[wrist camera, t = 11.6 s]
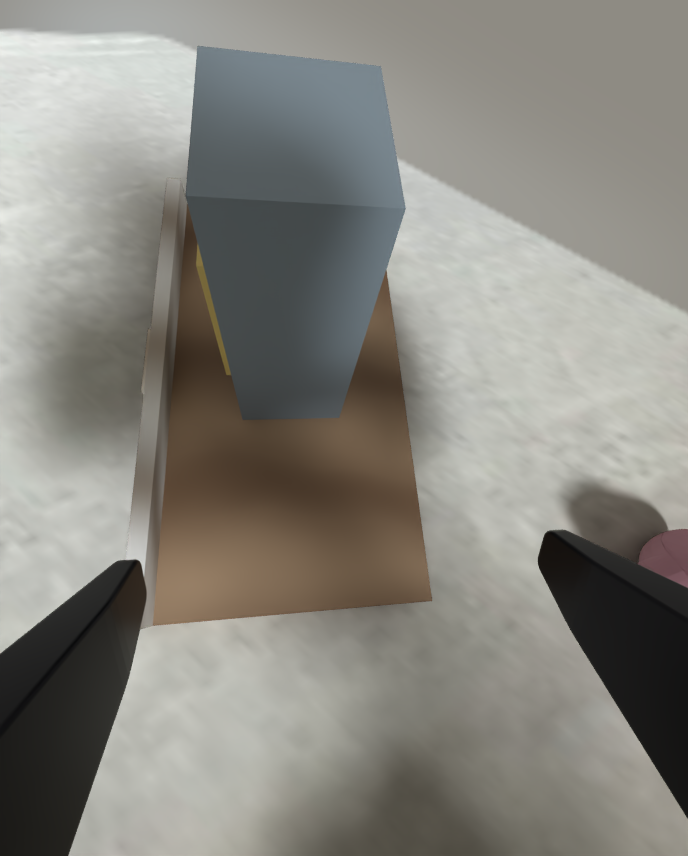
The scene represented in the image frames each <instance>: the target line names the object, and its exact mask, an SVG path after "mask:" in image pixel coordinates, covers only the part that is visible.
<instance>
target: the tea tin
mask: <svg viewBox="0 0 688 856" xmlns="http://www.w3.org/2000/svg"><path fill="white" fill-rule="evenodd" d="M186 199H187V203H188V207H189V211H190V215H191V219H192V223H193V227H194V231H195V235H196V239H197V243H198V244H197V260H196V267H197V270H198V274H199V277H200V281H201V285H202V288H203V292H204V296H205V299H206V303H207V306H208V310H209V314H210V317H211V321H212V324H213V328H214V332H215V335H216V339H217V343H218V346H219V350H220V353H221V357H222V361H223V364H224V368H225V372H226V375H231V376H232V380H233V384H234V388H235V392H236V396H237V400H238V404H239V408H240V412H241V416H242V420H263V419H311V418H339V417H340V413H341V410H342V407H343V404H344V401H345V398H346V395H347V391H348V388H349V385H350V382H351V379H352V376H353V373H354V369H355V366H356V363H357V360H358V357H359V354H360V351H361V347H362V344H363V341H364V338H365V335H366V332H367V328H368V325H369V322H370V319H371V316H372V313H373V310H374V306H375V303H376V300H377V297H378V294H379V291H380V288H381V284H382V281H383V278H384V275H385V272H386V269H387V266H388V262H389V259H390V256H391V253H392V250H393V247H394V244H395V240H396V237H397V234H398V231H399V228H400V225H401V222H402V218H403V215H404V212H405V209H406V208H405V202H404V197H403V191H402V185H401V179H400V174H399V168H398V162H397V156H396V151H395V145H394V139H393V133H392V128H391V122H390V117H389V111H388V105H387V99H386V94H385V88H384V82H383V76H382V71H381V66H374V65H365V64H356V63H348V62H338V61H329V60H321V59H311V58H303V57H294V56H285V55H276V54H267V53H258V52H248V51H240V50H231V49H222V48H212V47H203V46H198V47H197V59H196V72H195V84H194V97H193V110H192V122H191V135H190V147H189V160H188V172H187V185H186Z"/></svg>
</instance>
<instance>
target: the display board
mask: <svg viewBox="0 0 688 856" xmlns="http://www.w3.org/2000/svg"><path fill="white" fill-rule="evenodd" d="M197 244H198V243H197V239H196V235H195V231H194V227H193V223H192V219H191V215H190V211H189V207H188V204H187V202H186V198H185V194H184V190H183V186H182V182H181V179H179V178H167V182H166V191H165V200H164V210H163V219H162V228H161V237H160V247H159V256H158V265H157V274H156V284H155V293H154V302H153V311H152V321H151V329H148V333H147V342H146V351H145V360H144V369H143V378H142V387H141V392H142V393H143V404H142V413H141V422H140V431H139V441H138V450H137V459H136V468H135V478H134V487H133V496H132V505H131V515H130V524H129V533H128V542H127V551H126V560H133V559H137V560H139V561H140V563H141V565H142V570H143V575H144V579H145V584H146V589H147V599H146V605H145V609H144V614H143V618H142V623H141V627H140V629H143V628H146V627H150V626H155V625H166V624H177V623H189V622H200V621H211V620H222V619H234V618H245V617H256V616H267V615H279V614H290V613H301V612H312V611H324V610H335V609H346V608H357V607H369V606H380V605H391V604H402V603H414V602H425V601H432V597H431V590H430V582H429V575H428V568H427V561H426V553H425V546H424V539H423V532H422V524H421V517H420V510H419V503H418V495H417V488H416V481H415V474H414V467H413V459H412V452H411V445H410V438H409V430H408V423H407V416H406V409H405V401H404V394H403V387H402V380H401V372H400V365H399V358H398V351H397V344H396V336H395V329H394V322H393V315H392V307H391V300H390V293H389V286H388V278H387V271H386V272H385V275H384V278H383V281H382V284H381V288H380V291H379V294H378V297H377V300H376V303H375V306H374V310H373V313H372V316H371V319H370V322H369V325H368V328H367V332H366V335H365V338H364V341H363V344H362V347H361V351H360V354H359V357H358V360H357V363H356V366H355V369H354V373H353V376H352V379H351V382H350V385H349V388H348V391H347V395H346V398H345V401H344V404H343V407H342V410H341V413H340V417H339V418H311V419H263V420H242V416H241V412H240V408H239V404H238V400H237V396H236V392H235V388H234V384H233V380H232V376H231V375H226V372H225V368H224V364H223V361H222V357H221V353H220V350H219V346H218V343H217V339H216V335H215V332H214V328H213V324H212V321H211V317H210V314H209V310H208V306H207V303H206V299H205V296H204V292H203V288H202V285H201V281H200V277H199V274H198V270H197V267H196V260H197Z"/></svg>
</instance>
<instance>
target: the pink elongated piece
mask: <svg viewBox="0 0 688 856" xmlns="http://www.w3.org/2000/svg"><path fill="white" fill-rule="evenodd" d="M637 564H639V565H641V566H643V567H645V568H647V569H649V570H651V571H653V572H655V573H658V574H660V575H662V576H664V577H666V578H668V579H670V580H672V581H675V582H677V583H679V584H681V585H683V586H685V587H687V588H688V529H678V530H671V531H666V532H663V533H661V534H659V535H657V536H655V537H653V538H652V539H650V540H649V541H648V542H647V543H646V544H645V545H644V546H643V547H642V550H641V552H640V554H639V562H638V563H637Z"/></svg>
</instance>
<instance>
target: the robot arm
mask: <svg viewBox="0 0 688 856" xmlns="http://www.w3.org/2000/svg"><path fill="white" fill-rule="evenodd" d="M538 565H539V569H540V571H541V573H542V575H543V577H544V579H545V581H546V583H547V585H548V587H549V589H550V591H551V593H552V595H553V597H554V599H555V601H556V603H557V605H558V607H559V609H560V611H561V613H562V615H563V617H564V619H565V621H566V622H567V624H568V626H569V628H570V630H571V632H572V633H573V635H574V637H575V638H576V640H577V642H578V643H579V645H580V646H581V648H582V650H583V651H584V653H585V654H586V656H587V658H588V659H589V661H590V663H591V664H592V666H593V667H594V669H595V671H596V672H597V674H598V675H599V677H600V679H601V680H602V682H603V683H604V685H605V687H606V688H607V690H608V691H609V693H610V695H611V696H612V698H613V699H614V701H615V703H616V704H617V706H618V708H619V709H620V711H621V712H622V714H623V716H624V717H625V719H626V720H627V722H628V724H629V725H630V727H631V728H632V730H633V732H634V733H635V735H636V736H637V738H638V740H639V741H640V743H641V744H642V746H643V748H644V749H645V751H646V752H647V754H648V756H649V757H650V759H651V761H652V762H653V764H654V765H655V767H656V769H657V770H658V772H659V773H660V775H661V777H662V778H663V780H664V781H665V783H666V785H667V786H668V788H669V789H670V791H671V793H672V794H673V796H674V797H675V799H676V801H677V802H678V804H679V806H680V807H681V809H682V810H683V812H684V814H685V815H686V817H687V818H688V588H687V587H685V586H683V585H681V584H679V583H677V582H675V581H672V580H670V579H668V578H666V577H664V576H662V575H660V574H658V573H655V572H653V571H651V570H649V569H647V568H645V567H643V566H641V565H639V564H636V563H634V562H632V561H630V560H628V559H626V558H624V557H622V556H620V555H617V554H615V553H613V552H611V551H609V550H607V549H605V548H603V547H600V546H598V545H596V544H594V543H592V542H590V541H588V540H586V539H584V538H581V537H579V536H577V535H575V534H573V533H571V532H569V531H566V530H550V531H547V532H546V533H545V535H544V538H543V541H542V545H541V549H540V552H539V556H538ZM146 599H147V589H146V584H145V579H144V575H143V570H142V565H141V563H140V561H139V560H137V559H133V560H120V561H117V562H115V563H114V564H112V565H111V566H110V567H108V568H107V569H106V570H105V571H103V572H102V573H101V574H100V575H98V576H97V577H96V578H95V579H93V580H92V581H91V582H90V583H88V584H87V585H86V586H85V587H83V588H82V589H81V590H80V591H78V592H77V593H76V594H75V595H73V596H72V597H71V598H70V599H68V600H67V601H66V602H64V603H63V604H62V605H61V606H59V607H58V608H57V609H56V610H54V611H53V612H52V613H51V614H49V615H48V616H47V617H46V618H44V619H43V620H42V621H41V622H39V623H38V624H37V625H36V626H34V627H33V628H32V629H31V630H29V631H28V632H27V633H26V634H24V635H23V636H22V637H20V638H19V639H18V640H17V641H15V642H14V643H13V644H12V645H10V646H9V647H8V648H7V649H5V650H4V651H3V652H2V653H0V856H68V855H69V852H70V849H71V846H72V843H73V840H74V837H75V835H76V832H77V829H78V826H79V823H80V820H81V817H82V814H83V811H84V808H85V805H86V802H87V799H88V797H89V794H90V791H91V788H92V785H93V782H94V779H95V776H96V773H97V770H98V767H99V764H100V761H101V758H102V756H103V753H104V750H105V747H106V744H107V741H108V738H109V735H110V732H111V729H112V726H113V723H114V720H115V718H116V715H117V712H118V709H119V706H120V703H121V700H122V697H123V694H124V691H125V688H126V685H127V682H128V678H129V675H130V671H131V667H132V662H133V658H134V654H135V649H136V645H137V640H138V636H139V631H140V627H141V623H142V618H143V614H144V609H145V605H146Z"/></svg>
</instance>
